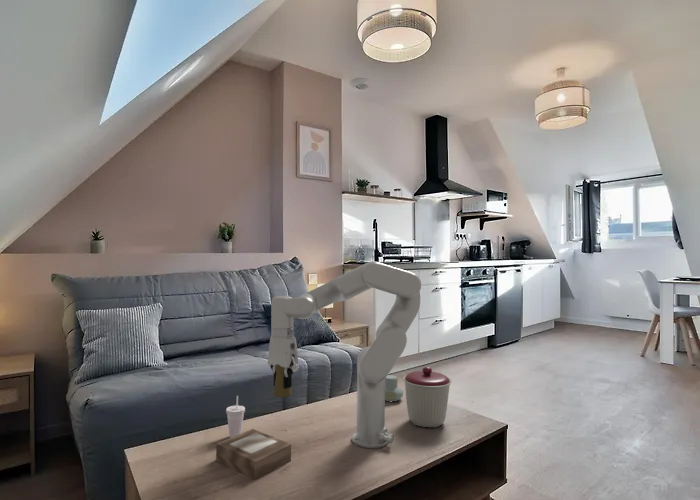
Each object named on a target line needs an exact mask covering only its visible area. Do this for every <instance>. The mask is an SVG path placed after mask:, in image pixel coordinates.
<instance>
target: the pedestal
mask: <svg viewBox="0 0 700 500" xmlns="http://www.w3.org/2000/svg"><path fill="white" fill-rule="evenodd" d="M215 446H216V448H215V450H216V451H215V461H216V462H219V463H221V464H223V465H225V466H226V467H229V468H231V469H233V470H234V471H237V472H239V473H241V474H243V475H244V476H247V477H249V478H251V479H252V480H255V481H256V480H258V479H259V478H261V477H263V476H266V475H267V474H268V473H271V472H272V471H275V470H276V469H279V468H280V467H283V466H285V465H286V464H287V463H290V462H291V461H292V443H289V442H287V441H284V440H282V439H279V438H278V437H274V436H271V435H269V434H266V433H264V432H261V431H260V430H257V429H254V428H251V429H249V430H245V431H244V432H241V434H239V435H236V436H234V437H231V438H230V437H229V438H227V439H224V440H221V441H219V442H216V445H215Z"/></svg>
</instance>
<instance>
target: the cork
mask: <svg viewBox="0 0 700 500" xmlns="http://www.w3.org/2000/svg"><path fill="white" fill-rule="evenodd" d="M275 371H276V380H275V386H274V389H273V397H275V398H286V397H290V396H292V388H291V387H292V386H291V387H290V388H287V389H284V384H283V378H284V377H285V373H284V368H283V367H281V366H280V365H278V364H276V365H275ZM288 371H289V369H288Z"/></svg>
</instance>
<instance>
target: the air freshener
mask: <svg viewBox="0 0 700 500" xmlns="http://www.w3.org/2000/svg"><path fill="white" fill-rule="evenodd" d="M403 396H404V391H403V389H402V388H401V387H400V386H398V377H397V376H396V375H392V374H391V375H390V374H388V375H387V376H386V377H385V400H386V401H385V402H387V401H395V402H398V401H399V400H401V399H402V398H403ZM397 400H398V401H397Z"/></svg>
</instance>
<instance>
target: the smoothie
mask: <svg viewBox="0 0 700 500" xmlns="http://www.w3.org/2000/svg"><path fill="white" fill-rule="evenodd" d="M245 412H246V407H245V406H244V405H239V395H236V403H235V405H231V406H227V408H226V410H225V413H226V416H227V425H228V435H229V438H231V437H234V436H236V435H239V434H241V433H242V429H243V423H244V422H243V421H244V416H245Z"/></svg>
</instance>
